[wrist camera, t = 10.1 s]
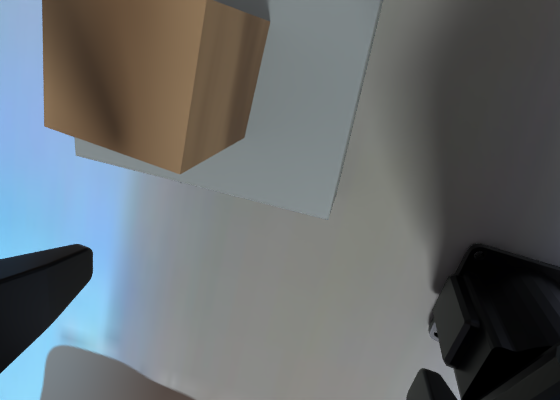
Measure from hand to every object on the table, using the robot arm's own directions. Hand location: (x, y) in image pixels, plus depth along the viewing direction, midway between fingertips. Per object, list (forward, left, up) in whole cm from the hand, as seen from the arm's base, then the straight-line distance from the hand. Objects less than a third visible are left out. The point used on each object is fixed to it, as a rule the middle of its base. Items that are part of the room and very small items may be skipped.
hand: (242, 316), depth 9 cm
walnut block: (+6, -5, -9) cm, 11 cm away
